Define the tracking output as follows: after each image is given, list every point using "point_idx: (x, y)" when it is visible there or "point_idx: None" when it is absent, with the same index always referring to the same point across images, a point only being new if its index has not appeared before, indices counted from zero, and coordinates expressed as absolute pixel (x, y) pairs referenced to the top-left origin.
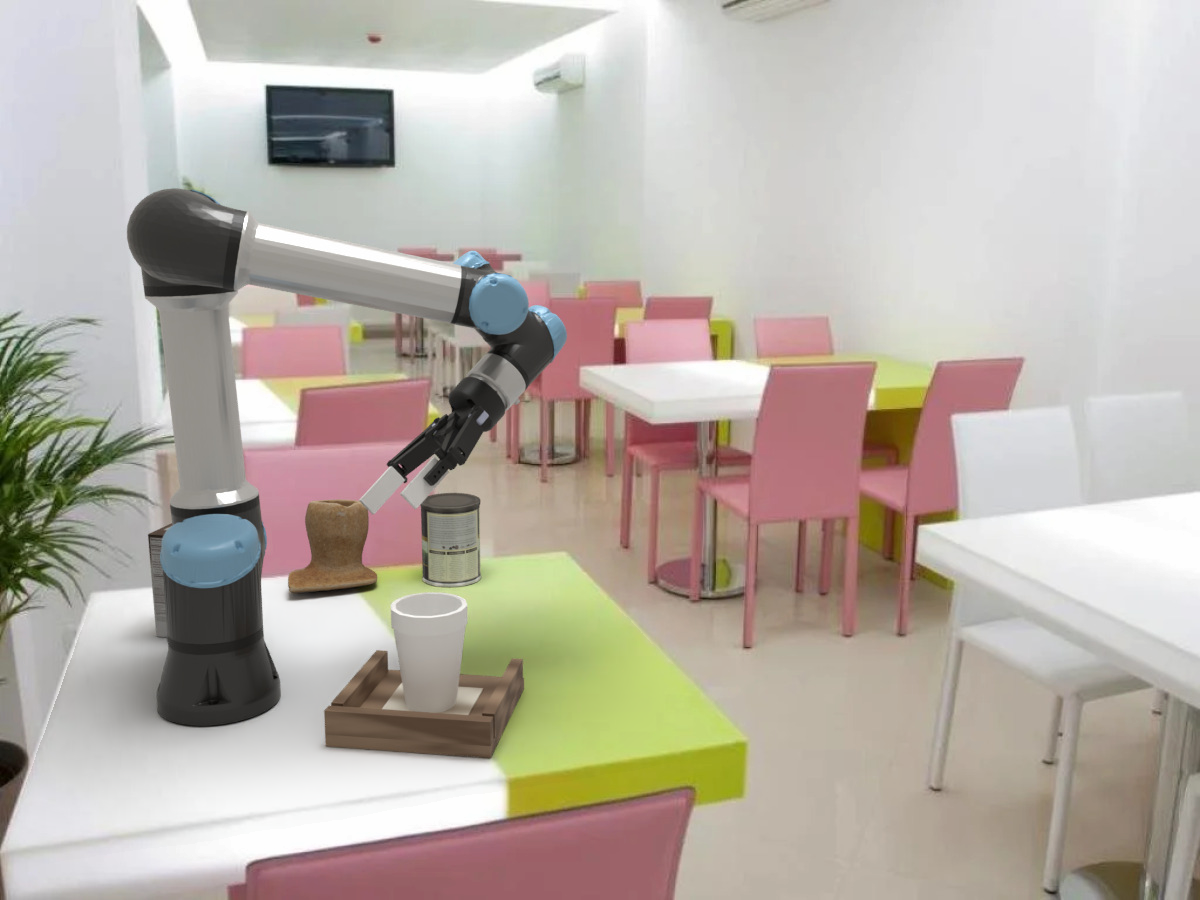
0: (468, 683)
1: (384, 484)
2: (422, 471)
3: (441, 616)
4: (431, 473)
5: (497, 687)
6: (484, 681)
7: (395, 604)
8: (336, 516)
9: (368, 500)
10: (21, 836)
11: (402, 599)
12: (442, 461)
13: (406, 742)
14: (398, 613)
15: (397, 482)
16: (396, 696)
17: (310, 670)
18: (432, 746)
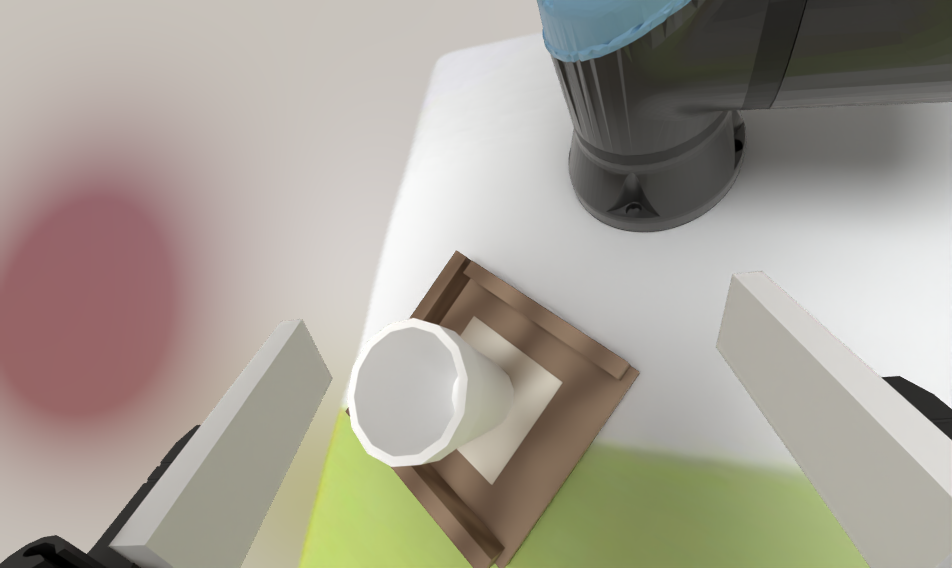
0: (522, 476)
1: (821, 413)
2: (203, 427)
3: (349, 385)
4: (168, 455)
5: (412, 471)
6: (518, 503)
7: (432, 332)
8: None
9: (740, 313)
10: (449, 55)
11: (452, 354)
12: (90, 556)
13: None
14: (393, 324)
15: (861, 522)
16: (520, 360)
17: (727, 282)
18: None
